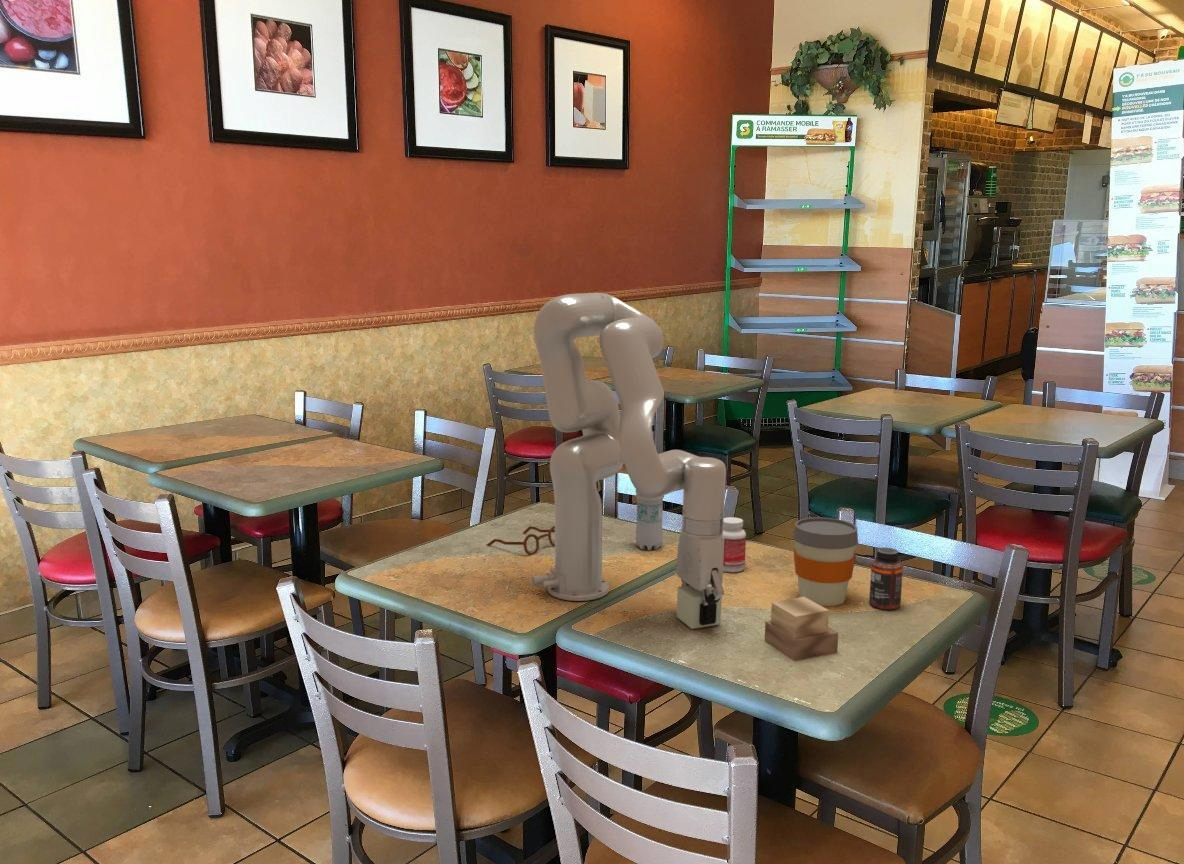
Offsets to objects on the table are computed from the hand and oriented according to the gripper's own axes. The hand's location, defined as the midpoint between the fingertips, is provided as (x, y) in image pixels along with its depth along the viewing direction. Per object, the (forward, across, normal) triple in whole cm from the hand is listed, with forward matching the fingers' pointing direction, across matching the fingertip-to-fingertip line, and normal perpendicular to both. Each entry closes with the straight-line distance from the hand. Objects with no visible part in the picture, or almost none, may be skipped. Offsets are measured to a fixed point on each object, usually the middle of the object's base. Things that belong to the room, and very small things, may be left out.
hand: (698, 616), depth 176 cm
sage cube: (+1, 0, 0) cm, 1 cm away
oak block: (-3, +16, +11) cm, 20 cm away
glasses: (+3, -57, -15) cm, 59 cm away
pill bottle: (+2, -24, +21) cm, 32 cm away
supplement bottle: (+1, +6, +38) cm, 39 cm away
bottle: (+2, -44, +11) cm, 45 cm away
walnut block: (+1, +16, +12) cm, 20 cm away
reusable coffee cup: (+1, -2, +29) cm, 29 cm away
